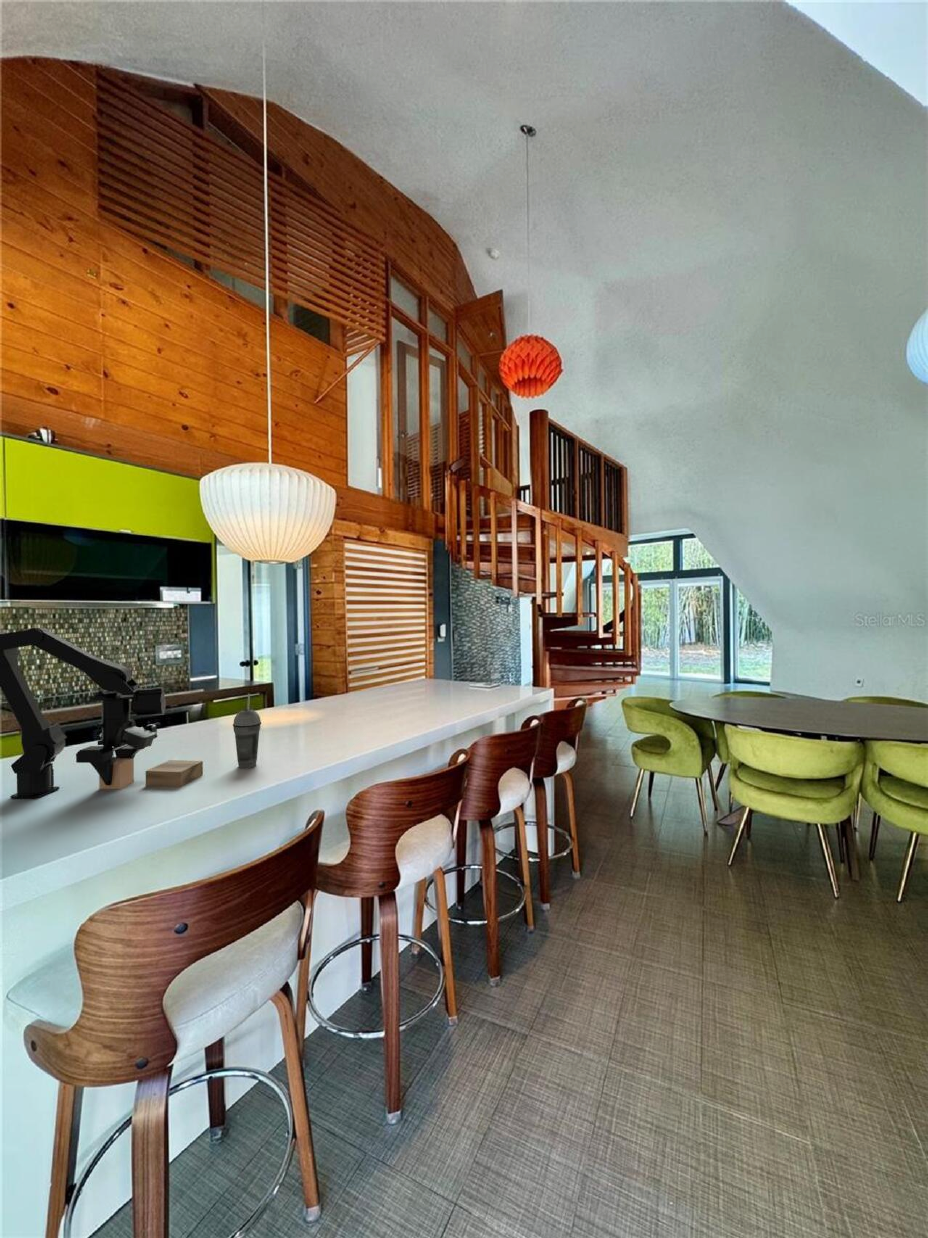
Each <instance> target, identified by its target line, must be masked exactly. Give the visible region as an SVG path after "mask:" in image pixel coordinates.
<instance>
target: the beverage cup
mask: <svg viewBox="0 0 928 1238" xmlns="http://www.w3.org/2000/svg"><path fill="white" fill-rule="evenodd" d="M250 699H251V693H247V707H246V709H242V710H240V711H239V712H237V713H236V715H235V717H234V718H233V724H232V728H233V732H234V737H235V747H236V757H237V764H238V768H239V769H251V768H254V766H255V767H256V766H257V761H258V753H259V752H258V751H259V738H260V730H261V725H262V720H261V717H260V715H259V714H258V712H257V711H255V710H254V709H252V708H250V704H251V703H250V701H251V700H250Z"/></svg>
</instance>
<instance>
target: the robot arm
mask: <svg viewBox="0 0 928 1238" xmlns="http://www.w3.org/2000/svg"><path fill="white" fill-rule="evenodd" d="M29 646H34V647H36V648H37V649H40V650H41V651H43V652H45V653H48V654H49V655H51V656H52V657H55V658H56V659H59V660H60V661H62V662H65V663H66V664H67V665H70V666H72V667H74V668H76V669H77V670H79V671H81V672H83V673H84V674H85V675H86V676H87V677H88V678H89V679H90V680H91V682H93V683H94V684H96V685H97V686H98V687H99V688H101V689H99V690H98V692H97V693H96V694H95V695H94V696H93V697H91V698H90V701H92V702H99V701H100V702H101V722H100V723H97V729H101V739H100V740H98V741H97V745H91V746H88V747H84V748H82V749H79V750H78V751H77V753H75V763H78V764H80V763H83V764H85V763H87V764H90V765H91V766H92V767H93V768H94V770H95V771H96V773H97V774H98V776H99V775H100V777H101V778H102V780H103V782H104V783H105V785H111V783H112V776H113V764H114V762H115V761H116V760H117V759H118V758H134V759H135V757H136V755H137V753H139V752H140V751H142V750H144V749H145V748H148V747H152V744H153V742H154V740H155V739H157V738H158V730H157V725H155V724H152V723H150V724H147V725H146V726H145V727H144V726H141V727H138V726H137V725H136V721H135V719H131V713H132V714H134V715H135V714H136V717H145V716H147V717H148V716H160V715H161V716H163V715H165V712H166V706H167V704H166V703H167V700H166V697H165V693H164V687H163V686H161V687H159V686H158V687H154V688H153V687H152V688H142V687H141V686H140V685H139V683H138V682H137V681H135V679H134V678H133V674H132V672H131V669H129V668H128V667H127V666H125V665H123V664H120V663H117V662H114V661H112V660H108V659H107V660H106V659H103V658H101V657H100V658H99V656H98V657H97V656H95V655H93V654H91V652H90V653H89V652H88V651H86V650H84V649H83V648H80V647H78V646H77V645H75V644H73V643H71V642H70V641H68V640H66V639H64V638H62V637H61V636H58V635H56V634H55V633H53V632H51V631H50V630H49V629H47V628H45V627H33V628H28V629H26V630H19V631H18V630H17V631H11V632H6V631H4V630H0V690H1V692H2V694H3V695H4V698H5V700H6V702H7V705H8V706H9V709H10V710H11V711H12V714H13V716H14V718H15V720H16V721H17V723H18V725H19V727H20V732H21V733H20V735H21V739H20V743H21V747H22V751H23V754H22V755H21V756H19V758H18V759H16V760H15V761H14V762H13V763H11V765H10V767H11V770H12V771H13V773H14V774H16V793H14V794H11V795H10V799H39V798H41V797H44V796H45V795H48V794H50V793H53V792H55V791H58V790H60V786H55V785H54V784H55V783H54V782H55V777H54V775H55V774H54V772H55V771H54V767H53V764H54V763H53V762H55V760H56V758H57V756H58V755H60V754H61V752H63V750H64V748H65V747H66V740H65V739H67V738H68V737H67V735H65V734H64V733H63V731H62V728H61V727H62V726H61V724H60V722H56V723H54V724H51V723H50V722H48V720H46V718H45V717H44V715H43V713H42V710H41V709H40V707H39V705H38V703H37V701H36V698H35V697H34V695H33V692H32V691H31V689H30V687H29V685H28V683H27V681H26V679H25V676H24V675H23V673H22V670H21V669H20V667H19V664H18V661H19V660H18V659H19V657H18V656H19V653H18V648H22V647H29Z"/></svg>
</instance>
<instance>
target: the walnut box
mask: <svg viewBox="0 0 928 1238" xmlns="http://www.w3.org/2000/svg"><path fill="white" fill-rule="evenodd" d="M203 765H204V761H203V760H179V759H178V760H175V759H172V760H171V759H170V760H167V761H165V762H163V763H160V764H158V765H155V766H153V767H151V768H149V769H147V770H145V786H146V787H165V788H167V787H168V788H169V787H171V788H181V787H184V786H186V785H187V784H189V783H191V782H192V781H195V780H197V779H198V778H201V777H202V776H203V775H204V774H203V773H204V771H203V770H204V769H203V768H204V767H203ZM194 779H195V780H194ZM185 784H186V785H185ZM183 785H184V786H183Z"/></svg>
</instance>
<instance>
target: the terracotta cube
mask: <svg viewBox="0 0 928 1238" xmlns="http://www.w3.org/2000/svg"><path fill="white" fill-rule="evenodd" d="M134 760H135V757H134V758H118V759H117V760H116V761H115V762H114V764H113V776H112V783H111V785H105V783H104V782H103V780H102V778H101V777H100V775H99V774H98V778H99V780H98V781H99V782H98V783H99V790H122V789H123V788H125V787H127V786H129V785H131V784H134V782H135V773H134V771H135V769H134V766H135V763H134V762H135V761H134Z"/></svg>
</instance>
